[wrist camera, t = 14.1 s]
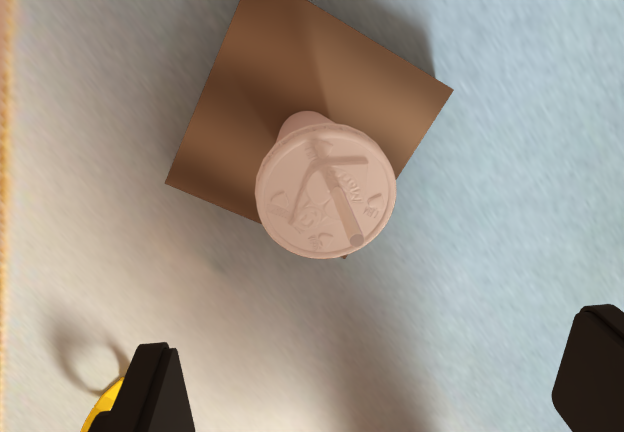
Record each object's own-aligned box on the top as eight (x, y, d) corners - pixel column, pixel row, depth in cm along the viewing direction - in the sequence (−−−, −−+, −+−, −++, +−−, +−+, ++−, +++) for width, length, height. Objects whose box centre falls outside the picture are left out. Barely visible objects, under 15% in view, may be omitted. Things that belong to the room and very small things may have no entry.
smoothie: (374, 138, 27) (469, 246, 15) (305, 202, 29) (338, 348, 16) (307, 65, 25) (353, 120, 12) (236, 140, 26) (212, 256, 14)
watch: (125, 362, 38) (105, 415, 32) (150, 376, 39) (135, 431, 33) (85, 400, 39) (59, 459, 33) (110, 414, 40) (89, 472, 34)
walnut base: (338, 239, 34) (344, 259, 31) (173, 168, 30) (164, 183, 27) (436, 83, 29) (453, 89, 26) (255, -28, 25) (253, -33, 22)
